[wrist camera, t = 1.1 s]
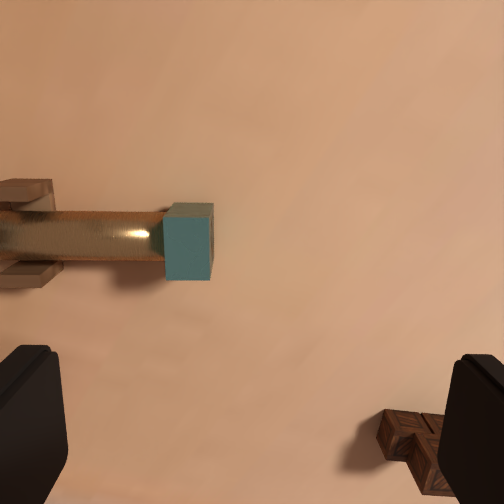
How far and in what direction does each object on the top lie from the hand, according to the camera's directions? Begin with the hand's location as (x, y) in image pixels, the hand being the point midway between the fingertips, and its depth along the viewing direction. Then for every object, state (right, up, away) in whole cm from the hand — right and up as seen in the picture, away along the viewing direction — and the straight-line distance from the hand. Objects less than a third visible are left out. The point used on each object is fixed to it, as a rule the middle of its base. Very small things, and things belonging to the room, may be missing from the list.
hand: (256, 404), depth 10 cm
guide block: (-17, +6, +23) cm, 29 cm away
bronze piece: (-12, +5, +22) cm, 26 cm away
